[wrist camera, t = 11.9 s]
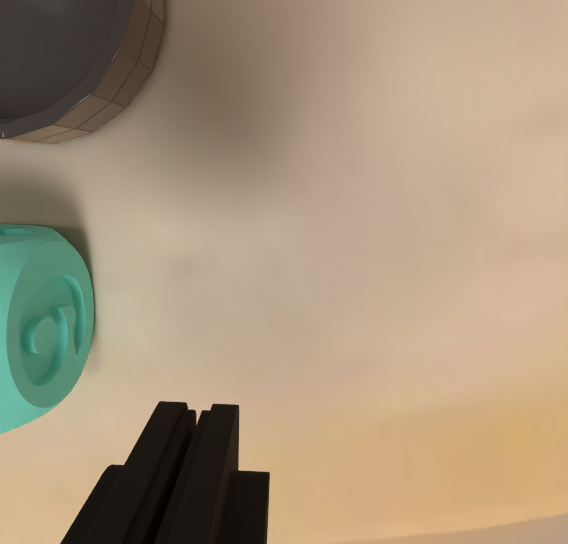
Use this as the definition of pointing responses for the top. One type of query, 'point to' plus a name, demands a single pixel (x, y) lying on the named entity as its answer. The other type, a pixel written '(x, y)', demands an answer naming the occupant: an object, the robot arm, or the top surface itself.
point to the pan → (72, 64)
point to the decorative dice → (40, 321)
